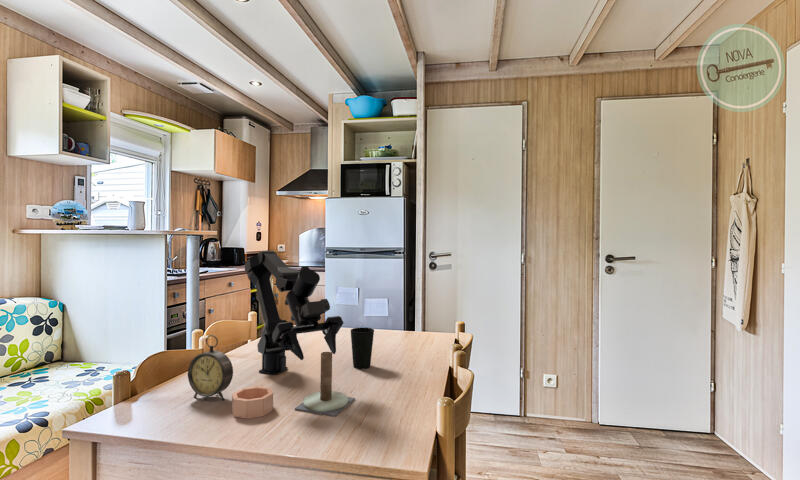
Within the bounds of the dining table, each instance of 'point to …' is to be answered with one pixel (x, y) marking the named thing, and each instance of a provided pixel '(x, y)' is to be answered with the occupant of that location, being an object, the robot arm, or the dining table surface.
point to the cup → (362, 347)
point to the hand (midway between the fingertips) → (319, 356)
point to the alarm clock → (210, 372)
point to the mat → (331, 413)
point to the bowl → (252, 402)
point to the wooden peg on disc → (325, 390)
